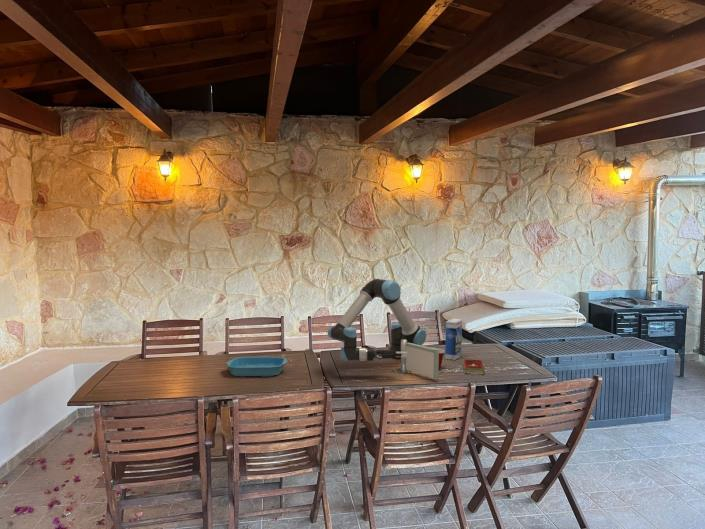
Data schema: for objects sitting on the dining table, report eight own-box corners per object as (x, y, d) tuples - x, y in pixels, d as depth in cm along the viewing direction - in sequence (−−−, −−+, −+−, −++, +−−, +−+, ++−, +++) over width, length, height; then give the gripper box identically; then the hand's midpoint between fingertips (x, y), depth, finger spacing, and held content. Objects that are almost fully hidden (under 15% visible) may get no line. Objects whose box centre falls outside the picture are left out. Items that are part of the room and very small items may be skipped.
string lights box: (455, 360, 314) (456, 322, 312) (444, 358, 318) (445, 321, 316) (461, 356, 325) (462, 319, 323) (451, 354, 329) (451, 318, 327)
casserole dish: (221, 378, 275) (221, 366, 274) (231, 367, 297) (231, 356, 296) (285, 378, 275) (284, 366, 275) (289, 367, 297) (289, 356, 297)
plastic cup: (444, 371, 290) (445, 352, 289) (427, 370, 292) (427, 351, 291) (445, 366, 301) (445, 347, 300) (427, 365, 303) (428, 346, 302)
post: (394, 371, 290) (394, 339, 288) (402, 368, 295) (403, 337, 294) (404, 374, 284) (404, 342, 283) (412, 371, 290) (413, 340, 288)
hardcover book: (482, 365, 304) (482, 359, 303) (484, 375, 283) (484, 368, 283) (463, 364, 306) (463, 358, 306) (463, 374, 286) (463, 367, 286)
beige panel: (405, 370, 287) (405, 343, 286) (407, 369, 289) (408, 342, 287) (435, 379, 270) (436, 350, 269) (438, 378, 272) (438, 349, 271)
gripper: (367, 357, 283) (406, 357, 282) (366, 363, 270) (407, 364, 269) (367, 345, 283) (406, 345, 281) (366, 351, 270) (407, 351, 268)
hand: (407, 354), depth 275 cm, fingers closed
